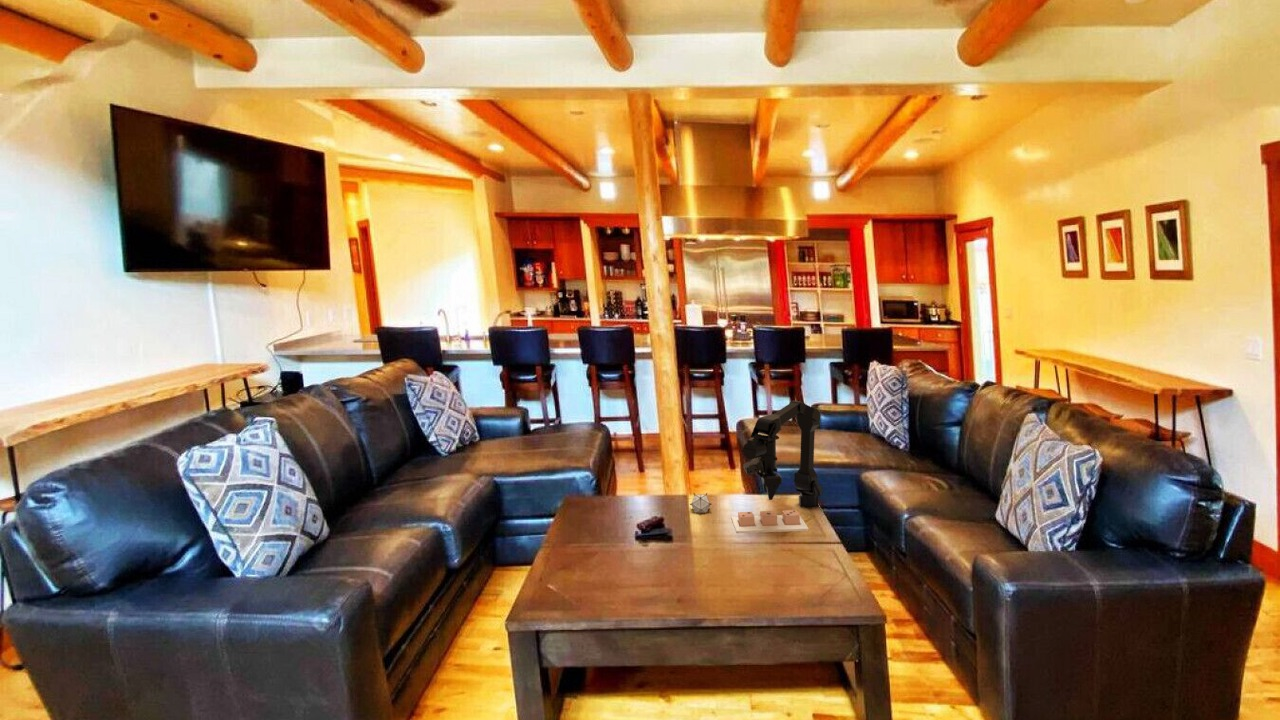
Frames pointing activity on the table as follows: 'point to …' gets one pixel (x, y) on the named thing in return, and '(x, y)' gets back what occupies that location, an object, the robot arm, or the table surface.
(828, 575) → the table surface
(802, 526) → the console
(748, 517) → the tile two dots
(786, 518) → the tile three dots
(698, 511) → the game die
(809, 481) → the robot arm
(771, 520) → the tile one dot
